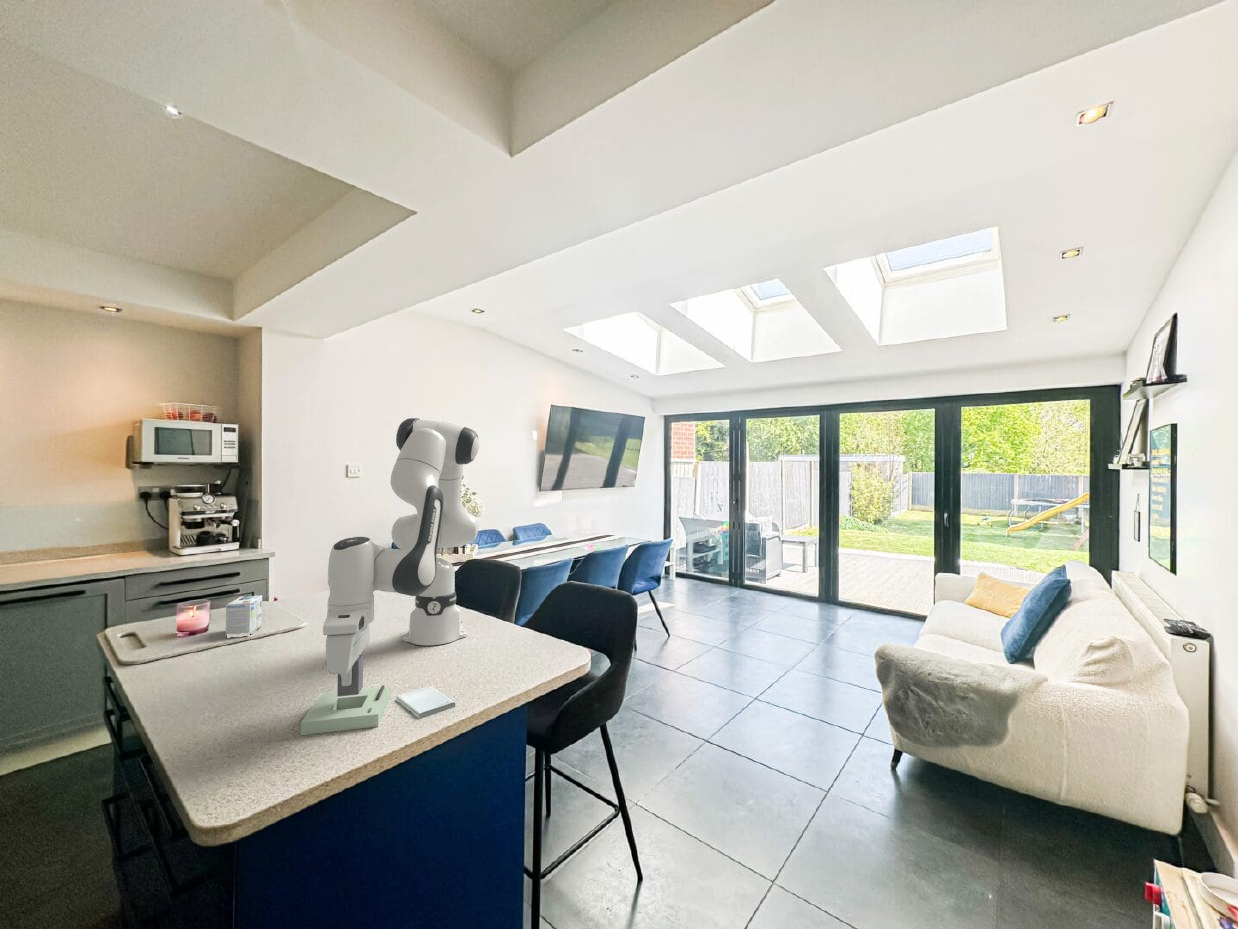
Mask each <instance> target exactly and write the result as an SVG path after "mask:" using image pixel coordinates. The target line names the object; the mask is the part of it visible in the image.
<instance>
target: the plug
mask: <svg viewBox="0 0 1238 929" xmlns="http://www.w3.org/2000/svg"><path fill="white" fill-rule="evenodd" d="M352 674H353V681H352V683H351V685H349V686H342V678H341V675H340V674H337V685H336V686H337V689H336V691H337V697H339V696H349V695H358V694H359V693H360V691H361V689H363V687H364V654H361V655H360V656H359V657H358V659H357V660H356V662H355V663H354V665H353V666H352Z"/></svg>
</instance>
